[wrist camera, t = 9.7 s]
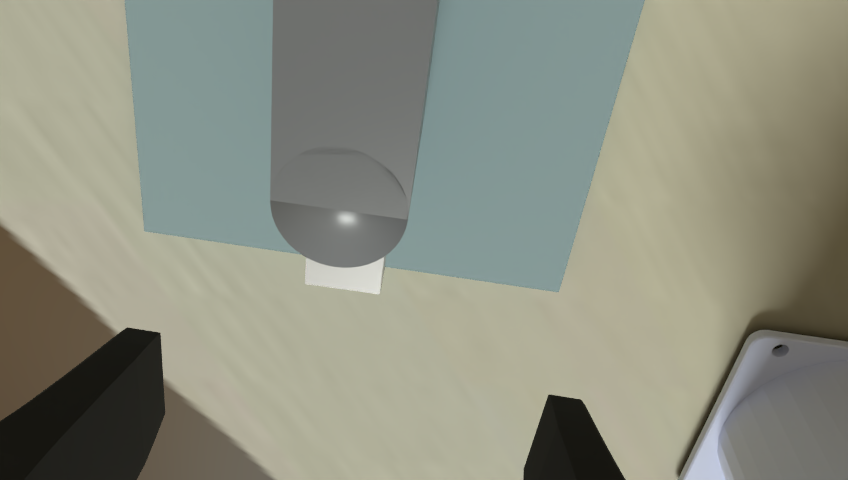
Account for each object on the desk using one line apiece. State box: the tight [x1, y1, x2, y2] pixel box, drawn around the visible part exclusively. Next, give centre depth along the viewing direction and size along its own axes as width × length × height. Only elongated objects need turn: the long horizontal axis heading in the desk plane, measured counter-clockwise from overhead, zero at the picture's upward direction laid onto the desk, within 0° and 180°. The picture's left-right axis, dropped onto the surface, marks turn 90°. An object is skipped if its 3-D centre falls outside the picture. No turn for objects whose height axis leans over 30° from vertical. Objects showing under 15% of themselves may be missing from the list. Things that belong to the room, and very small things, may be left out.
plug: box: [270, 0, 440, 294], centre depth 16 cm, size 3×11×5 cm, turn 173°
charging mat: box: [125, 0, 645, 292], centre depth 19 cm, size 13×13×1 cm
